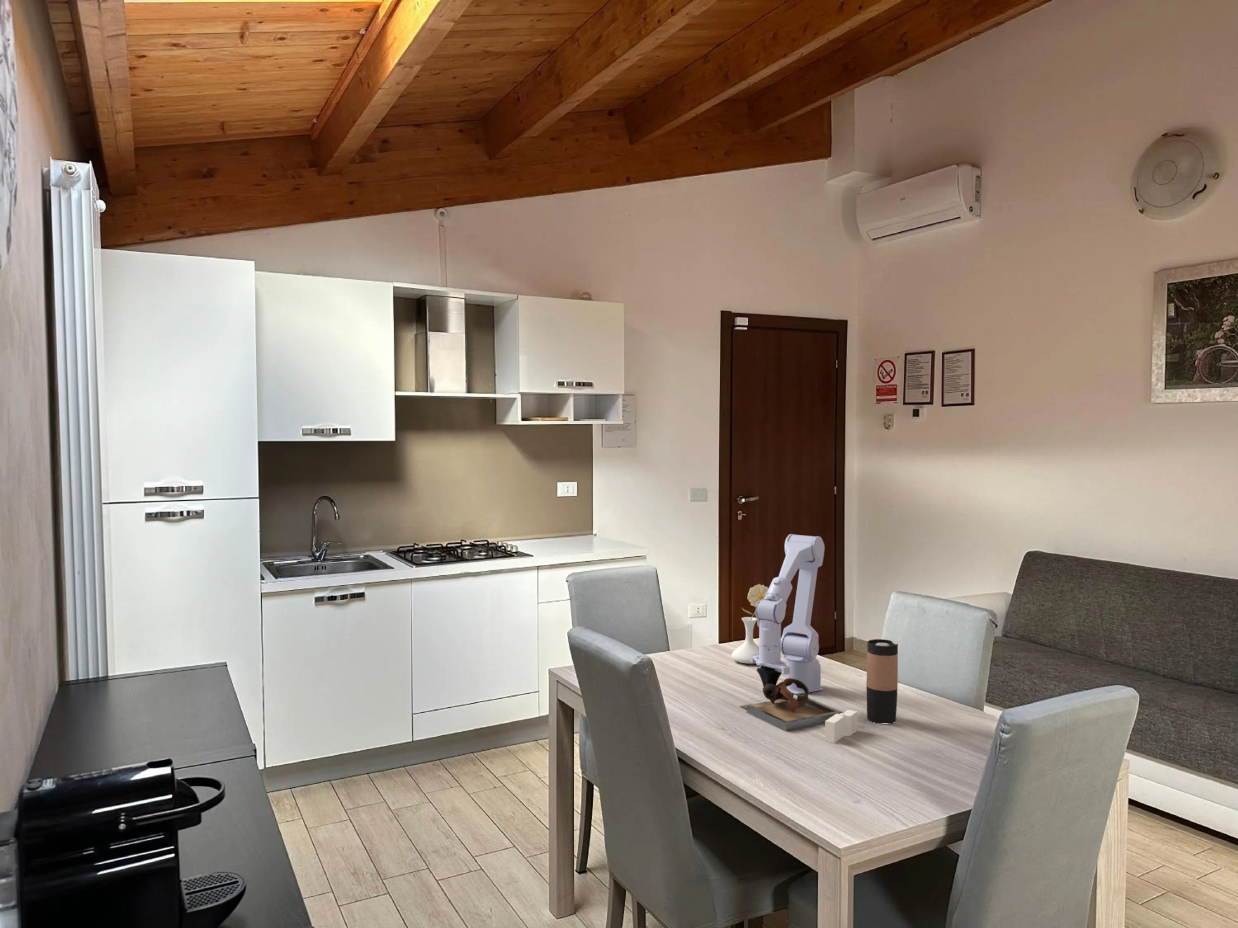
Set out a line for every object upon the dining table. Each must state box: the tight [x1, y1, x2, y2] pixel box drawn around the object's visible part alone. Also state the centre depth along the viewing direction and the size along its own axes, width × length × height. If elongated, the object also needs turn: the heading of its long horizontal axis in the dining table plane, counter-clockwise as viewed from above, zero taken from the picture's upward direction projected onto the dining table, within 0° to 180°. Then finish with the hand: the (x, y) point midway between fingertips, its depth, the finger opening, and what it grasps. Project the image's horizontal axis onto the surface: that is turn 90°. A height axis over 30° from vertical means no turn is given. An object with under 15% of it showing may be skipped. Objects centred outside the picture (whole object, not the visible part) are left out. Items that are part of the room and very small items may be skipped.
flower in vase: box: [730, 583, 769, 664], centre depth 280 cm, size 13×11×25 cm
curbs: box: [746, 694, 843, 732], centre depth 229 cm, size 18×16×2 cm
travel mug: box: [865, 638, 899, 724], centre depth 226 cm, size 8×8×20 cm
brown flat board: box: [738, 699, 827, 721], centre depth 232 cm, size 16×20×2 cm
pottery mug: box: [762, 678, 810, 712], centre depth 234 cm, size 12×10×8 cm
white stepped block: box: [824, 709, 859, 744], centre depth 215 cm, size 15×11×6 cm
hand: (769, 694), depth 238 cm, fingers closed
